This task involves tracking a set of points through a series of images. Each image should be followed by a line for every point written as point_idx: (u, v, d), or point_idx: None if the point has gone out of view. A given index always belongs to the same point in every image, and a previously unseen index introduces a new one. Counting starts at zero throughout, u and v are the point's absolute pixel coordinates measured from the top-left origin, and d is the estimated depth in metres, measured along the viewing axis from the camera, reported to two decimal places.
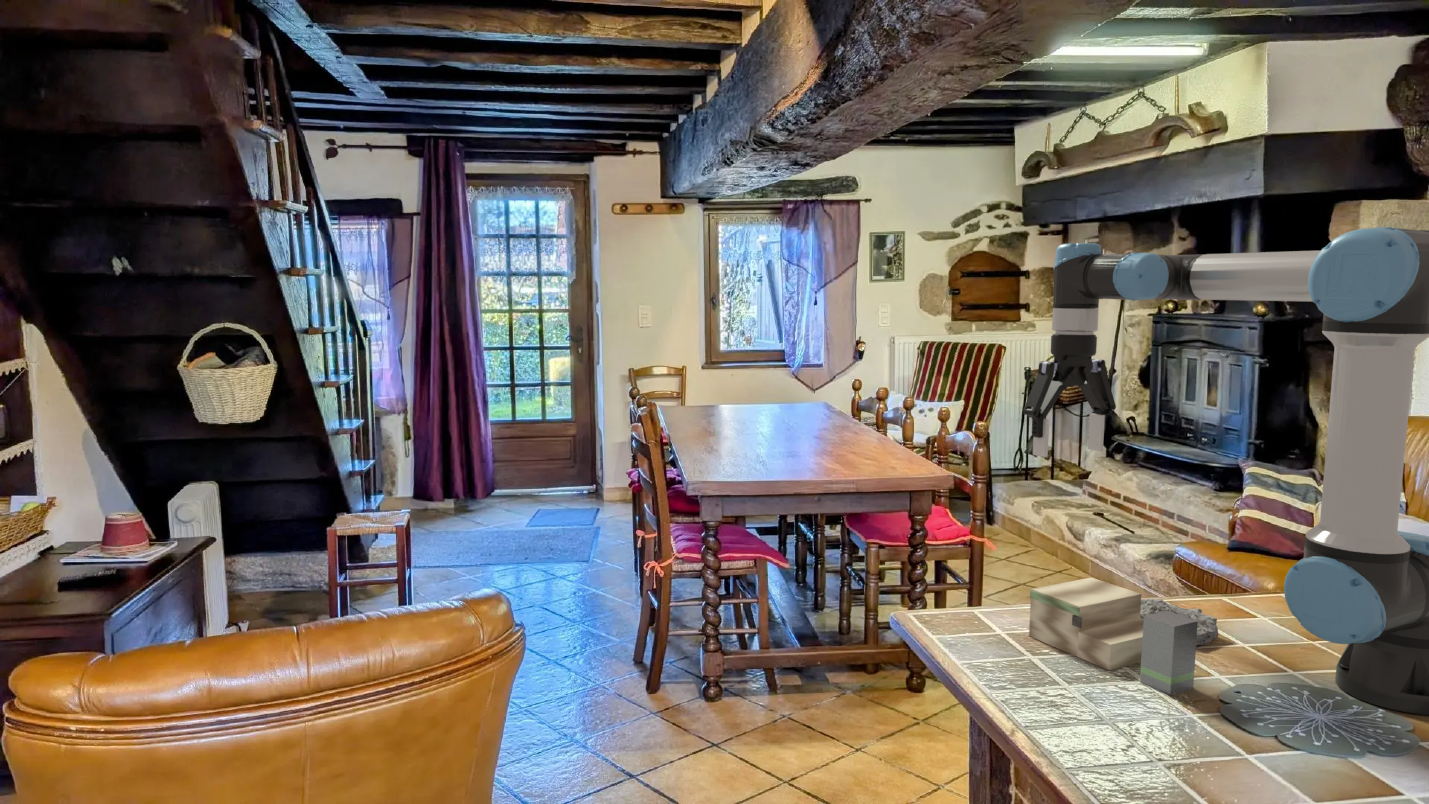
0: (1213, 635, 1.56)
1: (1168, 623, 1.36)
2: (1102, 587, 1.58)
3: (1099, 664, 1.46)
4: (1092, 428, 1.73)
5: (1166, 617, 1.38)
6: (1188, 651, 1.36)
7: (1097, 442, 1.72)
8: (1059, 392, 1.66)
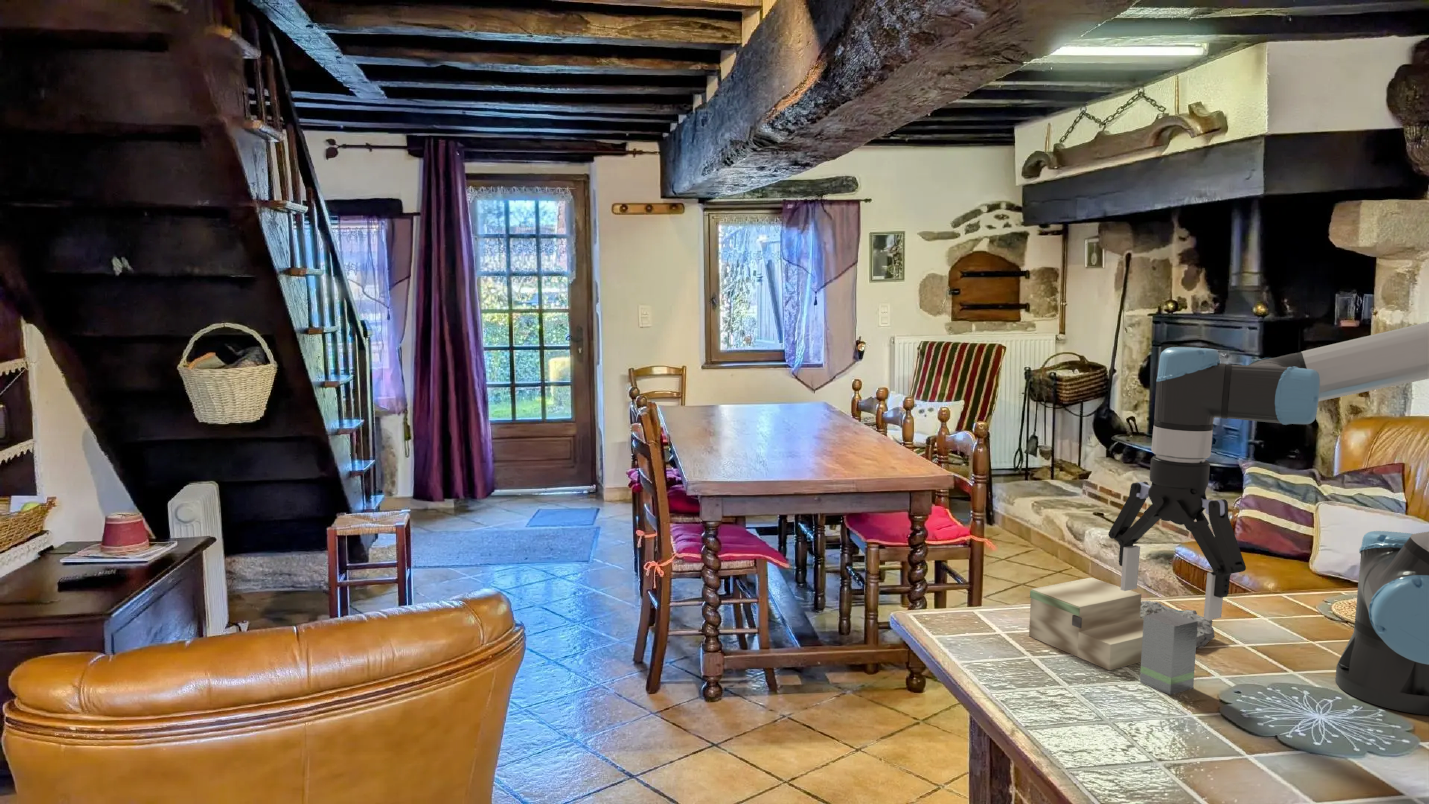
0: (1209, 637, 1.55)
1: (1168, 623, 1.36)
2: (1102, 587, 1.58)
3: (1099, 664, 1.46)
4: None
5: (1166, 617, 1.38)
6: (1188, 651, 1.36)
7: None
8: (1143, 521, 1.39)
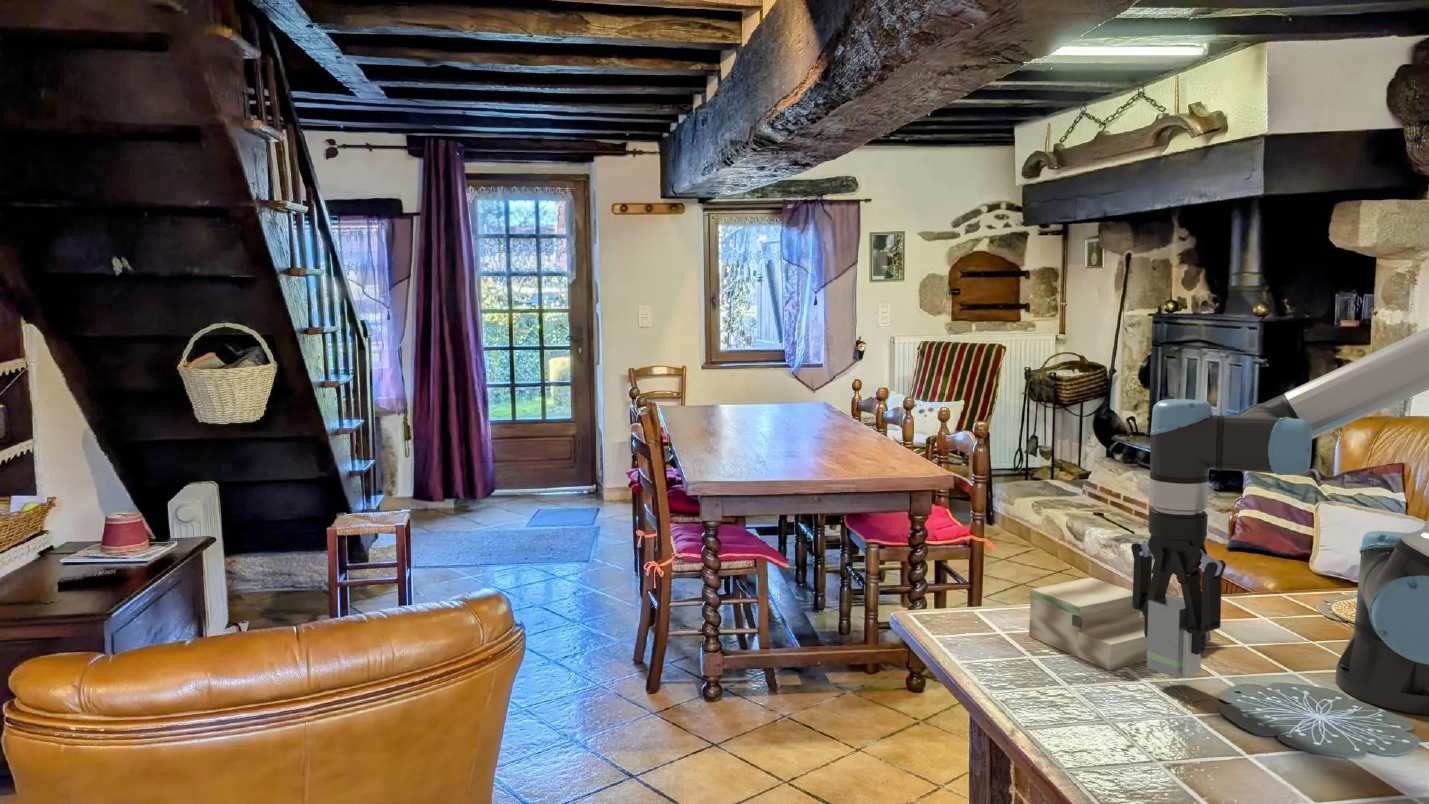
0: (1206, 639, 1.54)
1: (1173, 606, 1.35)
2: (1102, 587, 1.58)
3: (1099, 664, 1.46)
4: None
5: (1171, 601, 1.38)
6: None
7: None
8: (1156, 582, 1.38)
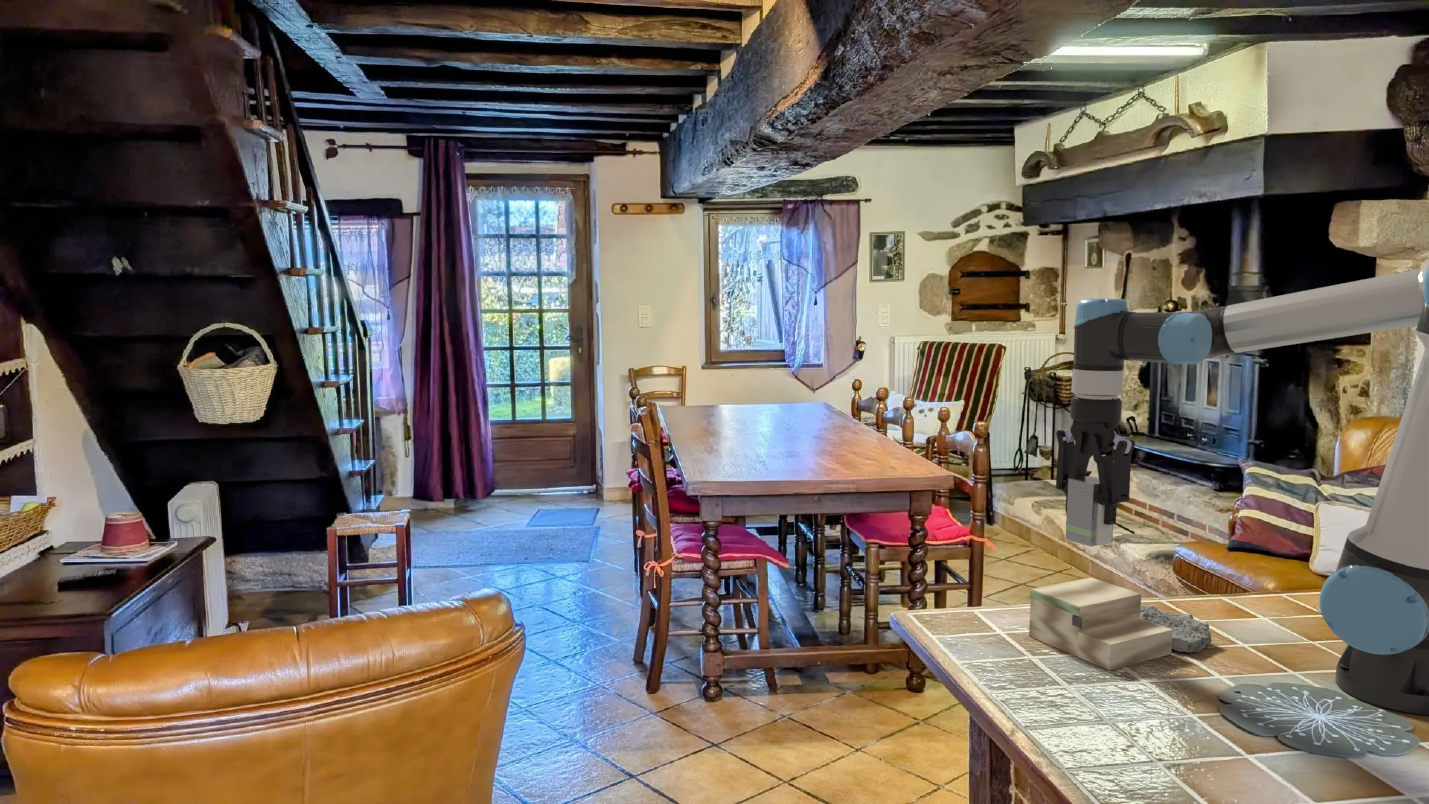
0: (1206, 641, 1.53)
1: (1089, 482, 1.52)
2: (1102, 587, 1.58)
3: (1099, 664, 1.46)
4: None
5: (1088, 479, 1.54)
6: None
7: None
8: (1076, 462, 1.55)
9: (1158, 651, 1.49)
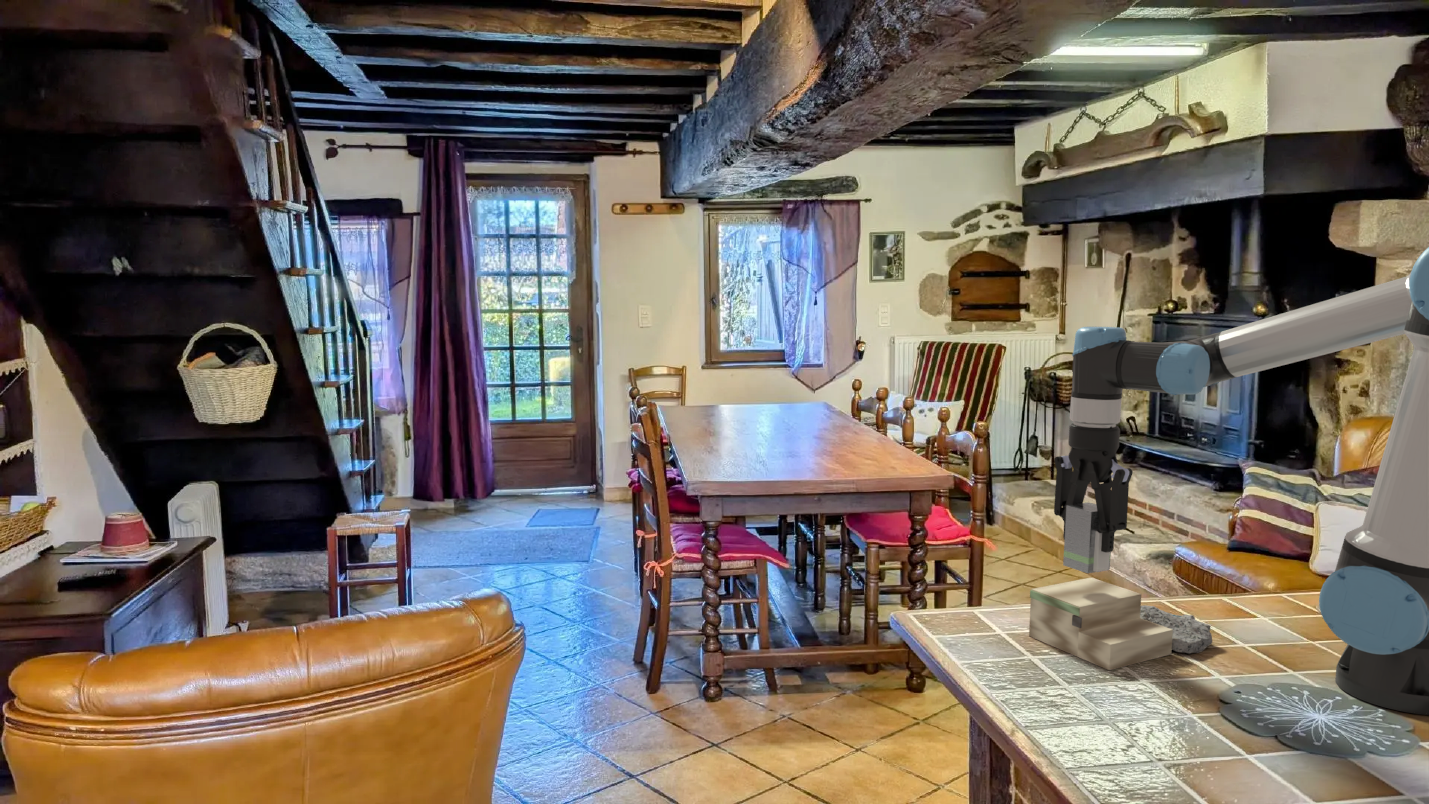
0: (1207, 642, 1.52)
1: (1087, 509, 1.52)
2: (1102, 587, 1.58)
3: (1099, 664, 1.46)
4: None
5: (1086, 506, 1.55)
6: None
7: None
8: (1074, 489, 1.56)
9: (1158, 651, 1.49)
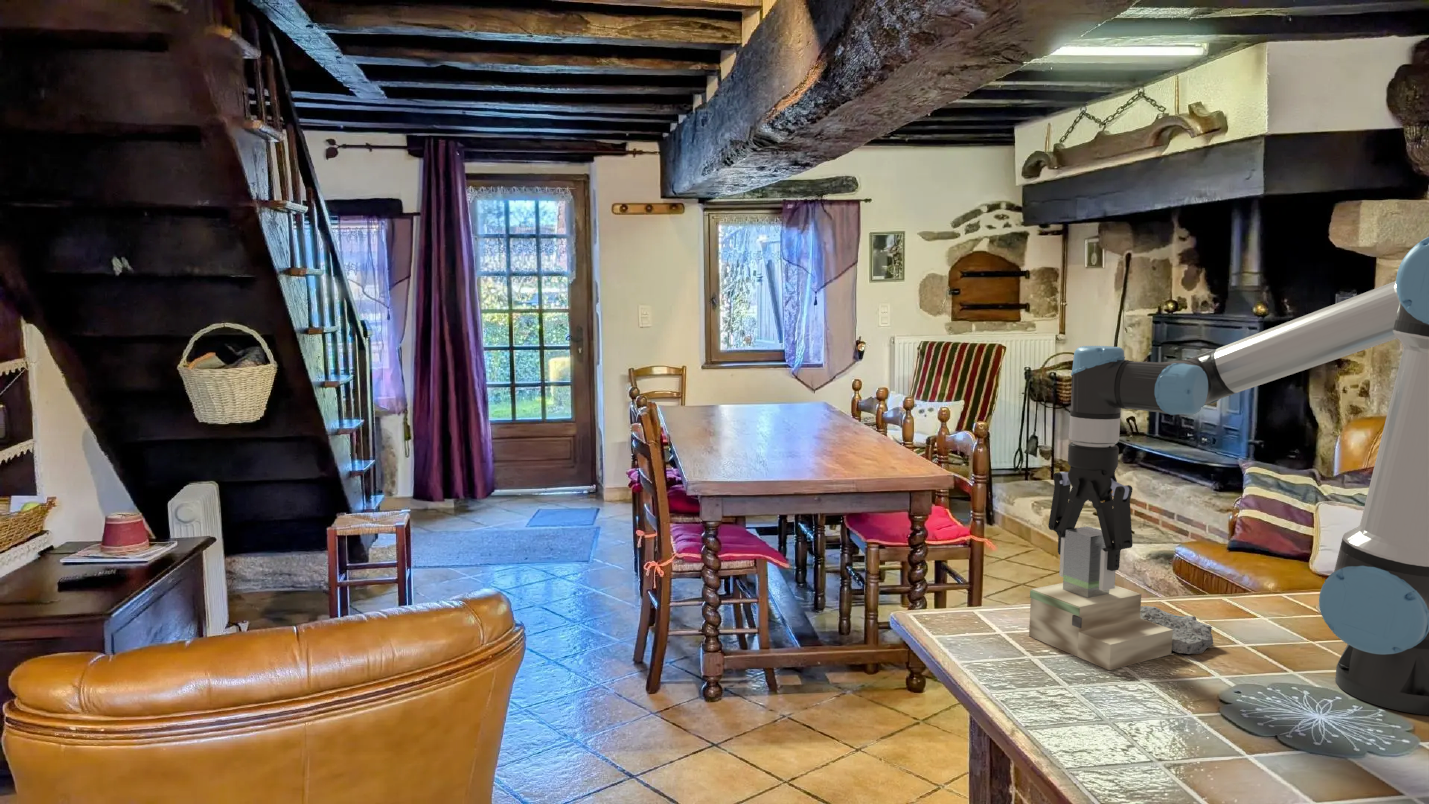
0: (1208, 643, 1.52)
1: (1086, 534, 1.53)
2: None
3: (1099, 664, 1.46)
4: None
5: (1085, 530, 1.55)
6: None
7: None
8: (1071, 506, 1.56)
9: (1158, 651, 1.49)
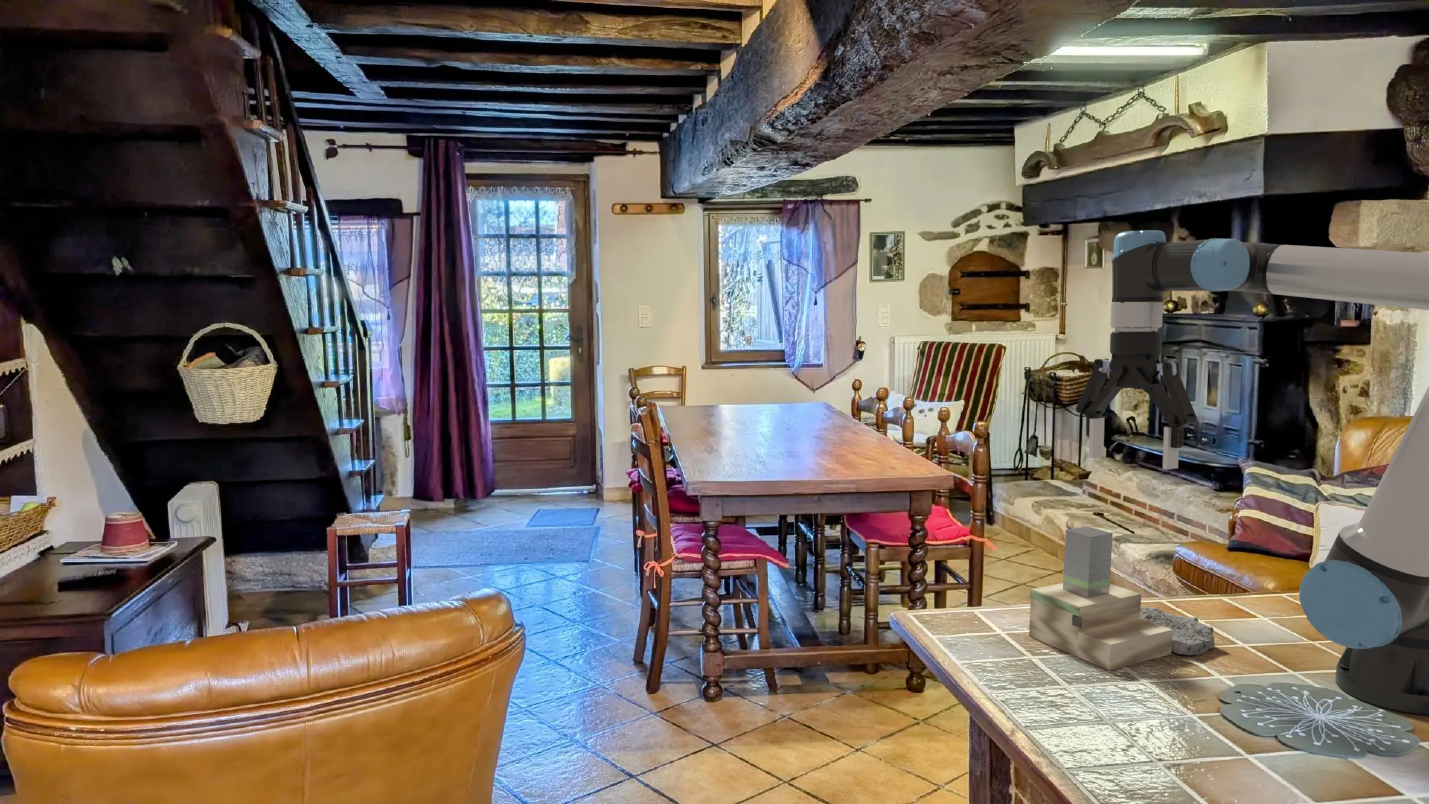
0: (1209, 645, 1.51)
1: (1086, 534, 1.53)
2: None
3: (1099, 664, 1.46)
4: None
5: (1085, 530, 1.55)
6: (1104, 560, 1.54)
7: None
8: (1106, 392, 1.56)
9: (1158, 651, 1.49)
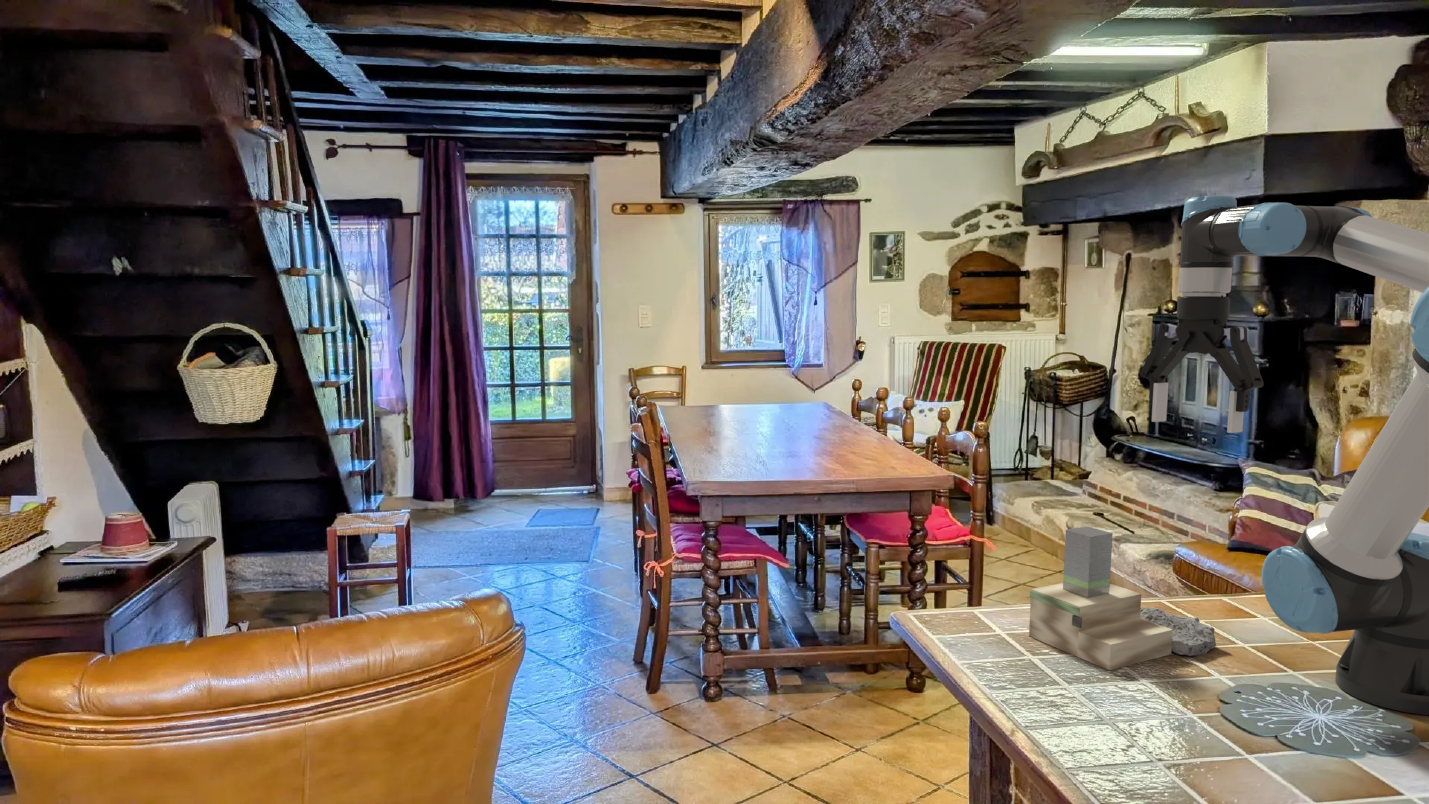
0: (1210, 645, 1.51)
1: (1086, 534, 1.53)
2: None
3: (1099, 664, 1.46)
4: None
5: (1085, 530, 1.55)
6: (1104, 560, 1.54)
7: None
8: (1172, 356, 1.58)
9: (1158, 651, 1.49)
